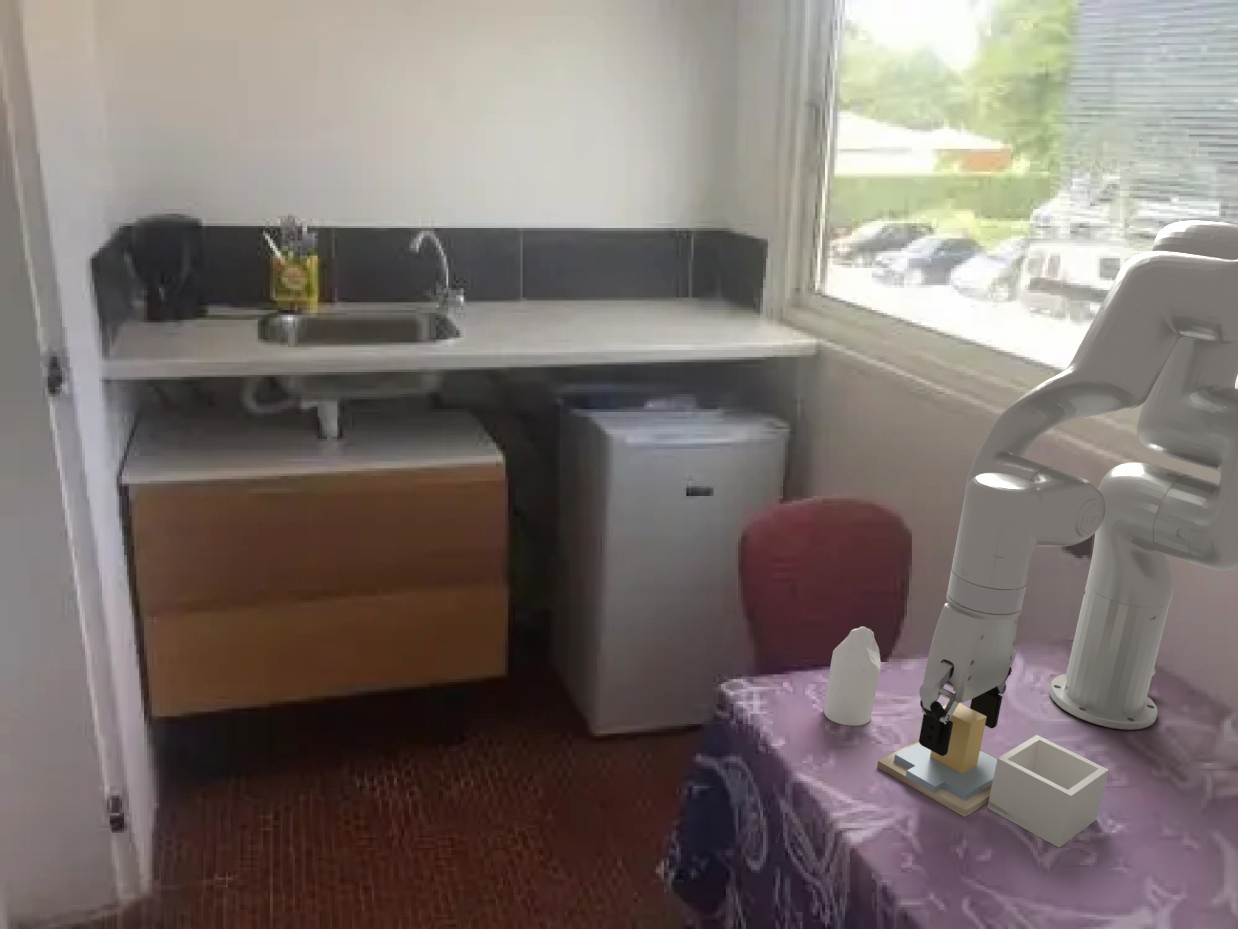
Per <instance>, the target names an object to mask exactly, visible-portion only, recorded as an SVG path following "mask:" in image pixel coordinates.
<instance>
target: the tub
mask: <svg viewBox="0 0 1238 929" xmlns="http://www.w3.org/2000/svg"><path fill="white" fill-rule="evenodd" d="M997 758H998V759H997V763H996V768H995V773H994V778H993V783H992V788H991V792H990V797H989V802H988V803H987V807H986V808H987V809H989V810H990V811H992V812H994V813H996V814H997V815H999V816H1001V817H1003V818H1004V819H1006V820H1008V821H1010V822H1012V823H1014V824H1015V825H1018V826H1019V827H1021V828H1023V829H1025V830H1026V831H1028V832H1030V833H1031V834H1033V835H1035V836H1036V837H1039V838H1041V839H1043V840H1044V841H1046V842H1048V843H1050V844H1051V845H1053V846H1055V847H1057V848H1061V847H1062V846H1063V845H1065V844H1066V843H1067V842H1069V841H1071V839H1073V838H1074V837H1075V836H1077V835H1079V833H1081V832H1082V831H1084V830H1086V829H1087V828H1088V827H1089V826H1091V825H1092V824H1093V823H1094V822H1096V821H1097V820H1098V816H1099V812H1100V808H1101V804H1102V799H1103V797H1104V796H1103V795H1104V792H1105V788H1106V782H1107V778H1108V776H1109V769H1108V768H1107V767H1104V766H1102V765H1100V764H1098V763H1096V762H1094V761H1092V760H1089V759H1087V758H1086V757H1084V756H1082V755H1079V754H1077V753H1075V752H1073V751H1071V750H1069V749H1066V748H1065V747H1063V746H1061V745H1058V744H1057V743H1054V742H1052V741H1051V740H1048V739H1046V738H1044V737H1042V736H1041V735H1038V734H1035V735H1034V736H1032V737H1031V738H1029V739H1028V740H1025V741H1023V743H1020V744H1019V745H1017V746H1016V747H1014V748H1012V749H1010V750H1008V751H1007V752H1005V753H1004V754H1002V755H1000V756H999V757H997Z"/></svg>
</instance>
